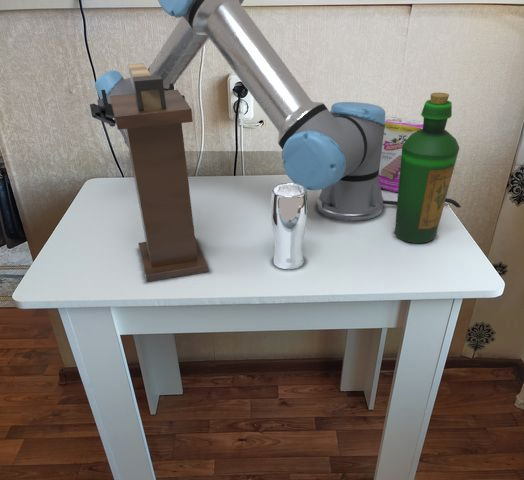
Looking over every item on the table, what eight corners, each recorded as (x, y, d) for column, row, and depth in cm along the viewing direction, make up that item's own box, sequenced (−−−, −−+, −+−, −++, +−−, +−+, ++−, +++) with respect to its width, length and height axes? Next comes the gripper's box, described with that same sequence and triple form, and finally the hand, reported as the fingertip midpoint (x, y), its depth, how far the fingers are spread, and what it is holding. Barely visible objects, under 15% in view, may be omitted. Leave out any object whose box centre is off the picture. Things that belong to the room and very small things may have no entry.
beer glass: (264, 262, 104) (262, 190, 94) (286, 250, 108) (287, 179, 98) (290, 274, 100) (291, 200, 90) (312, 261, 104) (316, 188, 94)
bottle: (441, 249, 106) (473, 103, 89) (389, 245, 108) (410, 101, 91) (438, 226, 114) (467, 88, 97) (389, 223, 116) (409, 87, 99)
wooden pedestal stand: (139, 249, 109) (109, 95, 91) (195, 240, 112) (177, 89, 93) (147, 282, 99) (115, 116, 80) (208, 271, 101) (191, 108, 83)
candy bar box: (369, 188, 132) (377, 120, 122) (377, 181, 136) (385, 115, 125) (411, 196, 128) (423, 127, 117) (418, 189, 131) (430, 121, 120)
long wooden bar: (127, 82, 98) (122, 56, 96) (150, 80, 99) (146, 54, 97) (138, 111, 82) (134, 80, 79) (166, 108, 83) (162, 78, 80)
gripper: (193, 134, 127) (203, 107, 107) (89, 146, 122) (79, 119, 102) (187, 102, 126) (196, 68, 106) (82, 113, 121) (70, 79, 101)
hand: (139, 93), depth 104 cm, fingers open, 13 cm apart
